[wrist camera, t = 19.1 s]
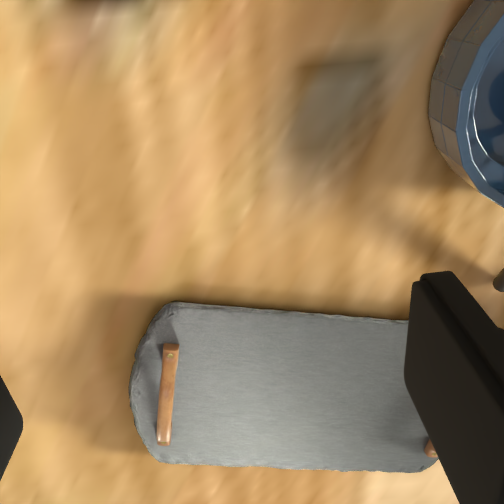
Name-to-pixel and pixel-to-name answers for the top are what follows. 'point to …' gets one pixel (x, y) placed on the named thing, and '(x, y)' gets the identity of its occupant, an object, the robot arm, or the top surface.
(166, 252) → the top surface
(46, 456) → the top surface
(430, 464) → the serving tray
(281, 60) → the top surface
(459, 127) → the bowl
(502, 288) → the ladle
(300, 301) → the top surface
